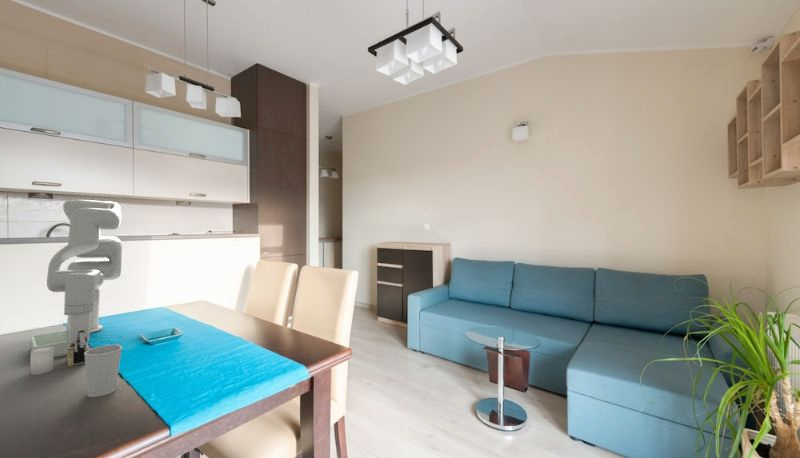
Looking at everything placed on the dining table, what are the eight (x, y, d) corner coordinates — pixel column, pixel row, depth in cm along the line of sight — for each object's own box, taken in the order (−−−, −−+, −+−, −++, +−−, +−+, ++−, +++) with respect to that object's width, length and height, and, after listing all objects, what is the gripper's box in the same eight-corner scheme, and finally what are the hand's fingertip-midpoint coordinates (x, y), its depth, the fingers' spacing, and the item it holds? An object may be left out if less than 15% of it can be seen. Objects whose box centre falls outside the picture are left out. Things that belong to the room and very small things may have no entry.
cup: (127, 385, 96) (129, 345, 96) (100, 399, 88) (102, 355, 88) (103, 383, 96) (105, 343, 96) (74, 397, 88) (76, 353, 88)
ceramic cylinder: (33, 370, 104) (34, 348, 104) (55, 366, 106) (56, 345, 106) (27, 376, 99) (27, 353, 100) (50, 372, 102) (50, 351, 102)
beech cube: (66, 362, 110) (67, 347, 110) (86, 358, 114) (87, 344, 114) (68, 366, 107) (69, 351, 107) (89, 361, 111) (89, 347, 111)
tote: (30, 349, 120) (31, 335, 120) (79, 340, 131) (80, 328, 131) (33, 361, 110) (34, 347, 110) (87, 351, 120) (87, 337, 120)
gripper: (61, 306, 113) (59, 355, 113) (67, 315, 103) (65, 369, 102) (90, 302, 119) (88, 349, 119) (99, 311, 108) (97, 362, 108)
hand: (78, 358), depth 111 cm, fingers open, 7 cm apart
